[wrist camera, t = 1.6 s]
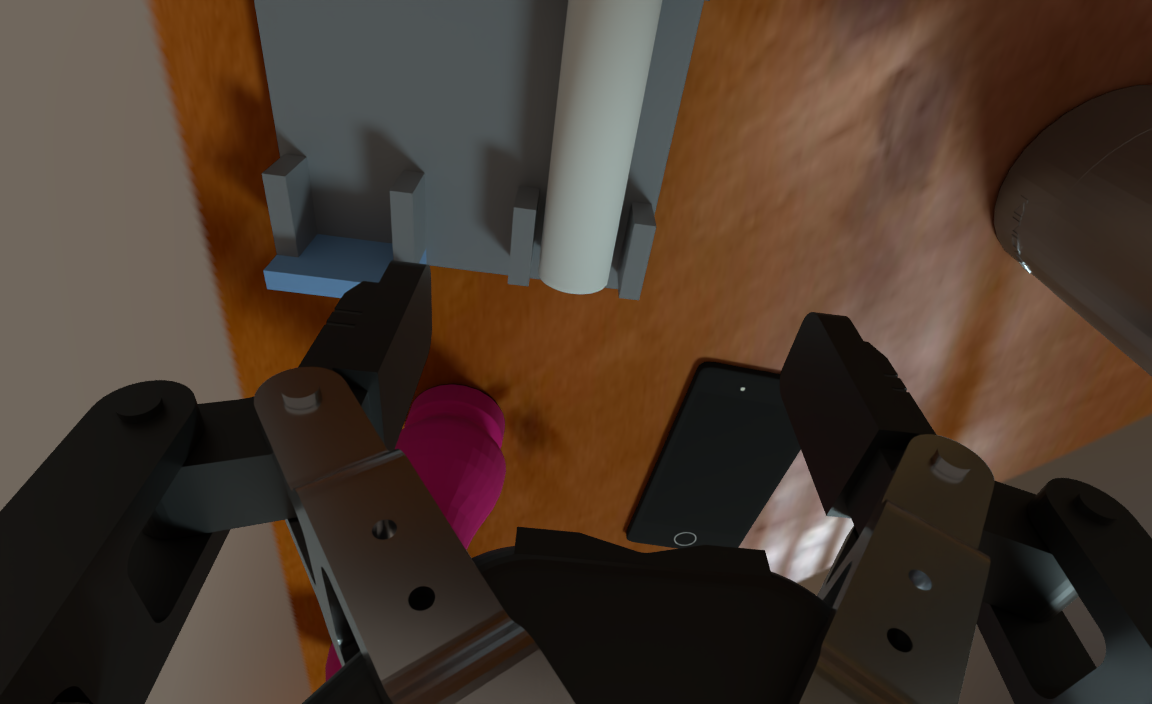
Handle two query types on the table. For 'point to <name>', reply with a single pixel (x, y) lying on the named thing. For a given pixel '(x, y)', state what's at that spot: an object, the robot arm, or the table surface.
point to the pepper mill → (453, 459)
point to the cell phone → (717, 461)
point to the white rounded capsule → (594, 137)
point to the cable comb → (438, 137)
